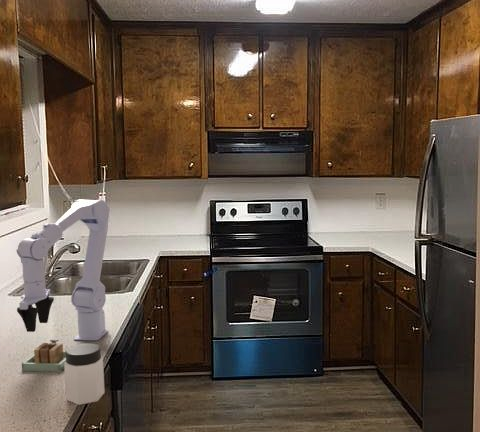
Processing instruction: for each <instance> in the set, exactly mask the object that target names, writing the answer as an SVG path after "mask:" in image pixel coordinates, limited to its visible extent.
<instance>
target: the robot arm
mask: <svg viewBox="0 0 480 432" xmlns="http://www.w3.org/2000/svg"><path fill="white" fill-rule="evenodd" d="M110 210H111V209H110V207H109V205H108V204H107V202H106V201H105V200H103V199H96V200H95V199H82V198H81V199H80V198H79V199H77V200H76V201H75V202H73V203H72V204H71V206H70V208H69V209H68V210H67V211H66V212H65V213H64V214H63V215H62V216H60V217H59V219H58V220H56V221H55V222H48V223H47V222H45V223H44V224H42V227H41V228H40V229H39V230H37V231H36V232H35V233H33V234H31V235H30V237H29V238H27V237H26V238H24V239H22V240H21V241H20V242H19V244H18V246H17V249H16V254H17V256H18V257H19V258H20V263H21V264H22V265H21V266H22V276H23V289H24V290H23V291H24V292H23V293H24V294H23V295H21V296H20V298H21V301H20V302H19V303H18V304H19V307H16V312H17V313H18V314H19V316H20V317H21V319H22V321H23V324H24V327H25V330H26V332H27V333H28V332H29V333H31V332H32V333H33V332H36V328H37V318H38V321H39V323H40V324H47V323H49V316H50V311H51V308H52V305H53V303H54V301H55V298H54V297H53V296H51V295H52V294H51V289H49V288H46V274H45V273H46V271H45V258H46V257H47V255H48V253H49V250H50V249H51V247H52V246H54V245H55V244H56V243H57V242H59V240H61V239H62V238H63V232H65V231H66V230H67V229H69V228H71V226H73V225H74V224H76V223H77V222H78V221H80V222H81V223H83V225H85V226H86V227H87V228H88V230H89V235H88V241H87V246H86V252H85V258H84V266H83V272H82V278H81V279H79V280H78V281H77V282H76V283H75V286H74V290H73V291H72V293H71V297H70V299H71V304H72V306H73V307H75V311H77V312H76V313H77V327H78V328H77V329H78V334H77V335H76V336H75V337H74V338H73V341H99V340H100V339H101V338H102V337H103V336H104V335H106V334H107V333H108V332H109V329H106V319H105V318H106V317H105V311H104V309H103V308H104V306H105V304H106V286H105V285H104V284H103V283H102V282H101V273H102V269H103V267H102V266H103V261H104V253H105V248H106V242H107V236H108V235H107V234H108V230H109V229H108V227H109V223H108V222H109V217H110ZM33 305H35V307H34V306H33Z"/></svg>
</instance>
